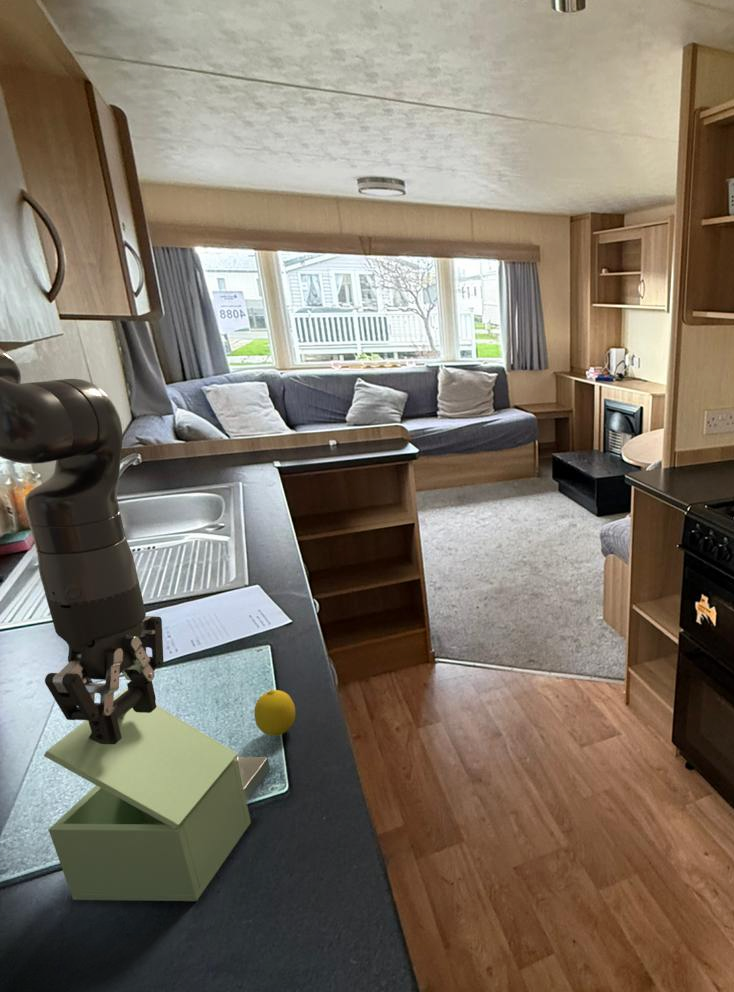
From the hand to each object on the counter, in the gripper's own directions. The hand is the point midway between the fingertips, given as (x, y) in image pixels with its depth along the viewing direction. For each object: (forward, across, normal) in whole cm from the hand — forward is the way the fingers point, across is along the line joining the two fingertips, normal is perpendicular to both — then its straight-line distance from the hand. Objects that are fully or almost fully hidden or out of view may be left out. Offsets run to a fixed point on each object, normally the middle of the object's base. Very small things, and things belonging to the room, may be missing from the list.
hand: (127, 725), depth 71 cm
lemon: (+19, -24, +3) cm, 31 cm away
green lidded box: (+19, 0, +1) cm, 19 cm away
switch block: (+19, -12, 0) cm, 22 cm away
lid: (+4, 0, +1) cm, 4 cm away
